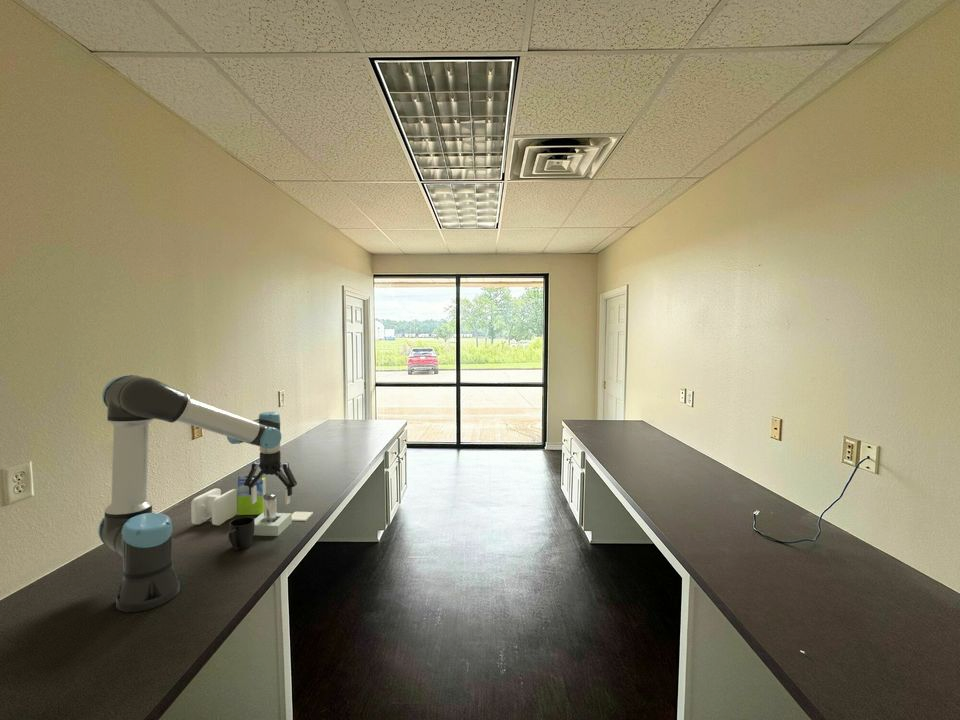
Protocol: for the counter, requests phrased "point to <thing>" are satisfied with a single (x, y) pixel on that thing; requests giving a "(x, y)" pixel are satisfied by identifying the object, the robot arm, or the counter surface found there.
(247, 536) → the mug
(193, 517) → the cable organizer
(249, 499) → the box
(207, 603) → the counter surface
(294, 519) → the coaster
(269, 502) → the brushed metal cylinder
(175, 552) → the counter surface
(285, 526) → the housing
